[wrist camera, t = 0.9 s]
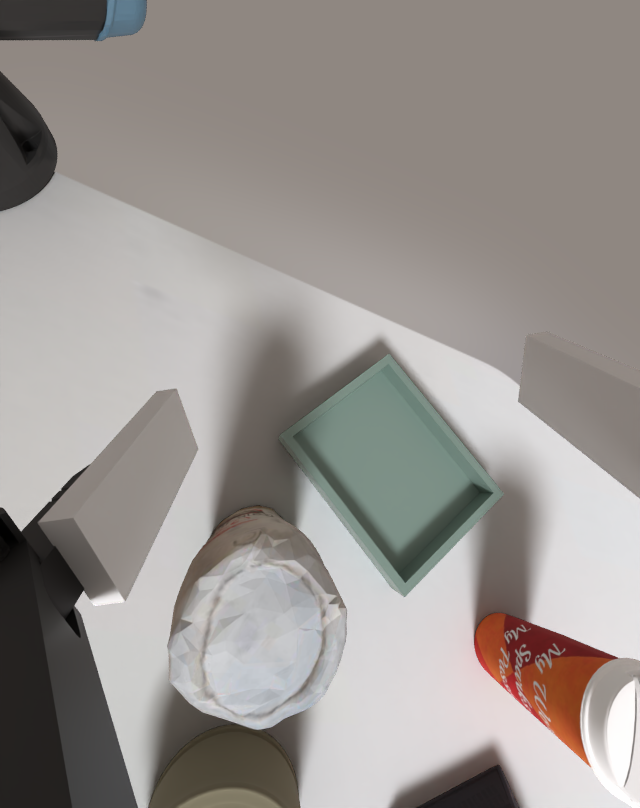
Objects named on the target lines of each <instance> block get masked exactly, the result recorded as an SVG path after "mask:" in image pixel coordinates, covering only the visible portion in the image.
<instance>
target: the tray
mask: <svg viewBox="0 0 640 808" xmlns="http://www.w3.org/2000/svg"><path fill="white" fill-rule="evenodd" d="M279 441H280V442H281V443H282V445H283V446H284V447H285V448H286V450H287V451H288V452H289V454H290V455H291V456H292V458H293V459H294V460H295V462H296V463H297V464H298V466H299V467H300V468H301V469H302V471H303V472H304V473H305V475H306V476H307V477H308V479H309V480H310V481H311V483H312V484H313V485H314V487H315V488H316V489H317V490H318V492H319V493H320V494H321V496H322V497H323V498H324V500H325V501H326V502H327V504H328V505H329V506H330V508H331V509H332V510H333V511H334V513H335V514H336V515H337V517H338V518H339V519H340V521H341V522H342V523H343V525H344V526H345V527H346V528H347V530H348V531H349V532H350V534H351V535H352V536H353V538H354V539H355V540H356V542H357V543H358V544H359V546H360V547H361V548H362V549H363V551H364V552H365V553H366V555H367V556H368V557H369V559H370V560H371V561H372V563H373V564H374V565H375V567H376V568H377V569H378V570H379V572H380V573H381V574H382V576H383V577H384V578H385V580H386V581H387V582H388V584H389V585H390V586H391V588H392V589H394V590H395V591H397V592H398V593H399V594H401V595H402V596H404V597H405V596H406V595H407V594H408V593H409V592H410V591H411V590H412V589H413V588H414V587H415V586H416V585H417V584H418V583H419V582H420V581H421V580H422V579H423V578H424V577H425V576H426V575H427V574H428V572H429V571H430V570H431V569H432V568H433V567H434V566H435V565H436V564H437V563H438V562H439V561H440V560H441V559H442V558H443V557H444V556H445V555H446V554H447V553H448V552H449V551H450V550H451V549H452V548H453V547H454V546H455V545H456V544H457V542H458V541H459V540H460V539H461V538H462V537H463V536H464V535H465V534H466V533H467V532H468V531H469V530H470V529H471V528H472V527H473V526H474V525H475V524H476V523H477V522H478V521H479V520H480V519H481V518H482V517H483V516H484V515H485V514H486V512H487V511H488V510H489V509H490V508H491V507H492V506H493V505H494V504H495V503H496V502H497V501H498V500H499V499H500V498H501V497H502V496H503V495H504V493H503V492H502V491H501V490H500V488H499V487H498V486H497V485H496V484H495V482H494V481H493V480H492V479H491V477H490V476H489V475H488V474H487V473H486V471H485V470H484V469H483V468H482V466H481V465H480V464H479V463H478V462H477V460H476V459H475V458H474V457H473V455H472V454H471V453H470V452H469V451H468V449H467V448H466V447H465V446H464V444H463V443H462V442H461V441H460V440H459V438H458V437H457V436H456V435H455V433H454V432H453V431H452V430H451V429H450V427H449V426H448V425H447V424H446V422H445V421H444V420H443V419H442V418H441V416H440V415H439V414H438V413H437V411H436V410H435V409H434V408H433V407H432V405H431V404H430V403H429V402H428V400H427V399H426V398H425V397H424V396H423V394H422V393H421V392H420V391H419V389H418V388H417V387H416V386H415V385H414V383H413V382H412V381H411V380H410V378H409V377H408V376H407V375H406V374H405V372H404V371H403V370H402V369H401V367H400V366H399V365H398V364H397V363H396V361H395V360H394V359H393V358H392V356H391V355H390V354H388V355H386V356H385V357H384V358H382V359H381V360H380V361H378V362H377V363H376V364H374V365H373V366H372V367H370V368H369V369H368V370H366V371H365V372H364V373H362V374H361V375H360V376H358V377H357V378H356V379H354V380H353V381H352V382H350V383H349V384H348V385H346V386H345V387H344V388H342V389H341V390H339V391H338V392H337V393H335V394H334V395H333V396H331V397H330V398H329V399H327V400H326V401H325V402H323V403H322V404H321V405H319V406H318V407H317V408H315V409H314V410H313V411H311V412H310V413H309V414H307V415H306V416H305V417H303V418H302V419H301V420H299V421H298V422H297V423H295V424H294V425H293V426H291V427H290V428H288V429H287V430H286V431H284V432H283V433H282V434H280V437H279Z"/></svg>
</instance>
